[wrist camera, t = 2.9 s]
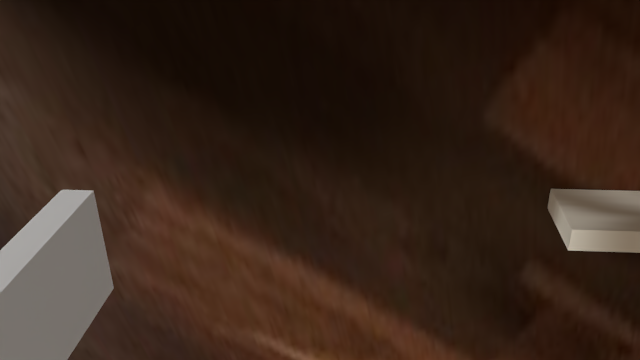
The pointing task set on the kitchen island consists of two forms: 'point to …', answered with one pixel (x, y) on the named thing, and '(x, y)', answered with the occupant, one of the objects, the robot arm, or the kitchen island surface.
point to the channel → (597, 219)
